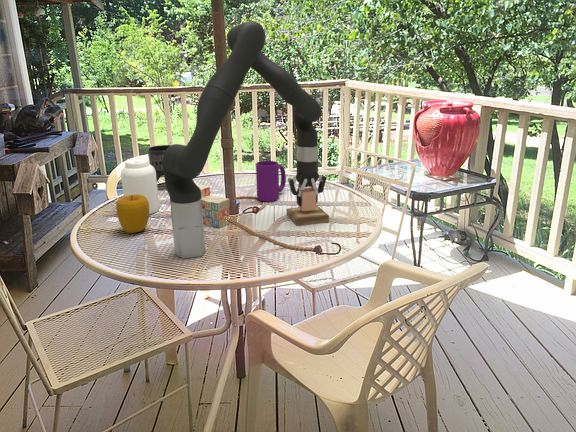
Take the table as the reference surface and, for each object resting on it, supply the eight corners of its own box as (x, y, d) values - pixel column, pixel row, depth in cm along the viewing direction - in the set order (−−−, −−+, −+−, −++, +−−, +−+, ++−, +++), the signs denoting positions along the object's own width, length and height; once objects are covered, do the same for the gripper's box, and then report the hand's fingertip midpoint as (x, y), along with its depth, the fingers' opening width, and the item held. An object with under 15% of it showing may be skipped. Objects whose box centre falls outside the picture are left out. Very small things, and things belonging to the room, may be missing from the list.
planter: (158, 182, 227) (154, 144, 221) (185, 183, 226) (182, 145, 220) (147, 191, 215) (142, 150, 209) (175, 192, 214) (171, 151, 208)
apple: (142, 238, 165) (138, 201, 160) (112, 236, 167) (107, 199, 162) (157, 226, 175) (153, 191, 171) (128, 224, 177) (124, 190, 172)
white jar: (166, 209, 192) (161, 158, 185) (140, 218, 182) (133, 165, 175) (145, 203, 199) (139, 154, 192) (119, 212, 189) (112, 161, 182)
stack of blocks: (230, 223, 177) (229, 190, 173) (219, 228, 172) (216, 195, 168) (188, 212, 189) (185, 181, 184) (175, 217, 184) (172, 185, 180)
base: (328, 222, 177) (328, 215, 176) (296, 225, 174) (296, 218, 173) (317, 211, 188) (317, 204, 187) (286, 215, 184) (286, 208, 183)
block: (316, 209, 178) (316, 191, 175) (302, 211, 176) (302, 192, 174) (311, 205, 182) (311, 187, 180) (298, 207, 181) (298, 188, 178)
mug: (252, 199, 202) (250, 163, 197) (276, 190, 214) (275, 156, 209) (269, 203, 197) (268, 167, 192) (293, 194, 208) (293, 159, 203)
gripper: (290, 162, 168) (291, 210, 173) (330, 159, 172) (329, 206, 177) (284, 157, 174) (285, 203, 180) (322, 154, 178) (322, 199, 184)
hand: (307, 204), depth 179 cm, fingers closed on block, 5 cm apart
